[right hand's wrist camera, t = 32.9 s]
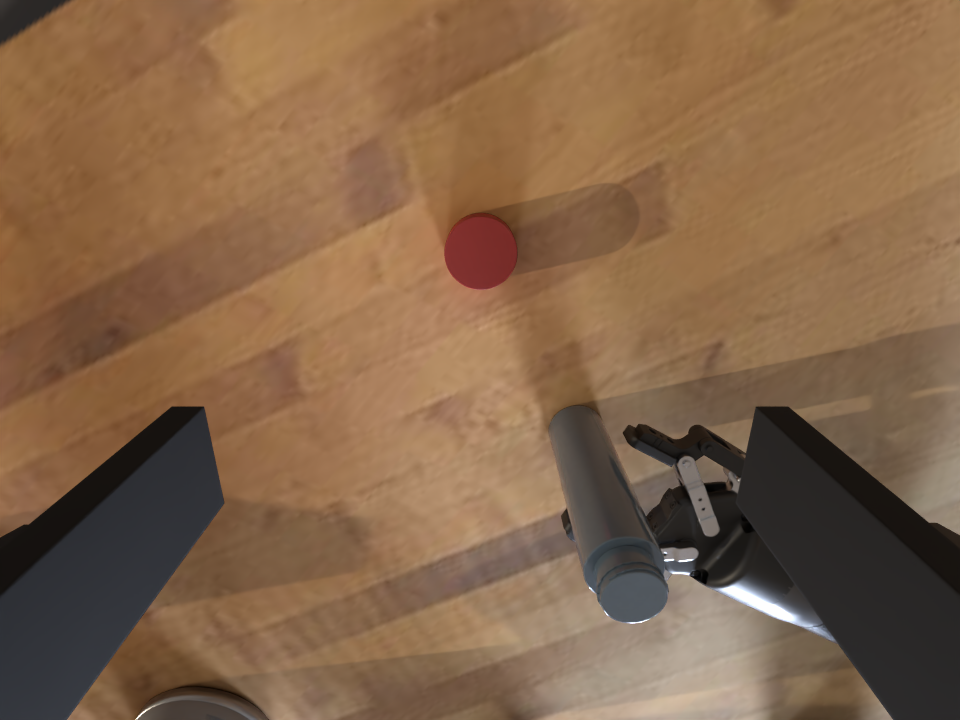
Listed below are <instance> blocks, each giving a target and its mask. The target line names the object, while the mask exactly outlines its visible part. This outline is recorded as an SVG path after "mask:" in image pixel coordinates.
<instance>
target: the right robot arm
mask: <svg viewBox="0 0 960 720" xmlns="http://www.w3.org/2000/svg"><path fill="white" fill-rule="evenodd" d="M223 504H224V499H223V494H222V490H221V485H220V480H219V475H218V471H217V466H216V461H215V456H214V451H213V447H212V442H211V437H210V432H209V428H208V423H207V418H206V413H205V409H204V407H171V408H170V409H168V410H167V411H166V412H165V413H164V414H162V415H161V416H160V417H159V418H157V419H156V420H155V421H154V422H153V423H151V424H150V425H149V426H148V427H147V428H145V429H144V430H143V431H142V432H141V433H139V434H138V435H137V436H136V437H134V438H133V439H132V440H131V441H130V442H128V443H127V444H126V445H125V446H124V447H122V448H121V449H120V450H119V451H118V452H116V453H115V454H114V455H113V456H111V457H110V458H109V459H108V460H107V461H105V462H104V463H103V464H102V465H101V466H99V467H98V468H97V469H96V470H95V471H93V472H92V473H91V474H90V475H88V476H87V477H86V478H85V479H84V480H82V481H81V482H80V483H79V484H78V485H76V486H75V487H74V488H73V489H72V490H70V491H69V492H68V493H67V494H65V495H64V496H63V497H62V498H61V499H59V500H58V501H57V502H56V503H55V504H53V505H52V506H51V507H50V508H48V509H47V510H46V511H45V512H44V513H42V514H41V515H40V516H39V517H38V518H36V519H35V520H34V521H33V522H32V523H30V524H29V525H23V526H21V527H19V528H17V529H15V530H13V531H12V532H10V533H8V534H6V535H4V536H2V537H1V538H0V720H67V719H68V717H69V716H70V715H71V713H72V712H73V710H74V709H75V708H76V706H77V705H78V704H79V702H80V701H81V699H82V698H83V697H84V695H85V694H86V693H87V691H88V690H89V688H90V687H91V686H92V684H93V683H94V682H95V680H96V679H97V677H98V676H99V675H100V673H101V672H102V671H103V669H104V668H105V666H106V665H107V664H108V662H109V661H110V660H111V658H112V657H113V655H114V654H115V653H116V651H117V650H118V649H119V647H120V646H121V644H122V643H123V642H124V640H125V639H126V638H127V636H128V635H129V633H130V632H131V631H132V629H133V628H134V627H135V625H136V624H137V623H138V621H139V620H140V618H141V617H142V616H143V614H144V613H145V612H146V610H147V609H148V607H149V606H150V605H151V603H152V602H153V601H154V599H155V598H156V596H157V595H158V594H159V592H160V591H161V590H162V588H163V587H164V585H165V584H166V583H167V581H168V580H169V579H170V577H171V576H172V574H173V573H174V572H175V570H176V569H177V568H178V566H179V565H180V563H181V562H182V561H183V559H184V558H185V557H186V555H187V554H188V552H189V551H190V550H191V548H192V547H193V546H194V544H195V543H196V541H197V540H198V539H199V537H200V536H201V535H202V533H203V532H204V530H205V529H206V528H207V526H208V525H209V524H210V522H211V521H212V520H213V518H214V517H215V515H216V514H217V513H218V511H219V510H220V509H221V507H222V506H223ZM736 504H737V506H738V507H739V509H740V510H741V511H742V513H743V514H744V515H745V517H746V518H747V520H748V521H749V522H750V524H751V525H752V526H753V528H754V529H755V530H756V532H757V533H758V535H759V536H760V537H761V539H762V540H763V541H764V543H765V544H766V546H767V547H768V548H769V550H770V551H771V552H772V554H773V555H774V557H775V558H776V559H777V561H778V562H779V563H780V565H781V566H782V568H783V569H784V570H785V572H786V573H787V574H788V576H789V577H790V579H791V580H792V581H793V583H794V584H795V585H796V587H797V588H798V590H799V591H800V592H801V594H802V595H803V596H804V598H805V599H806V601H807V602H808V603H809V605H810V606H811V607H812V609H813V610H814V612H815V613H816V614H817V616H818V617H819V618H820V620H821V621H822V623H823V624H824V625H825V627H826V628H827V629H828V631H829V632H830V633H831V635H832V636H833V638H834V639H835V640H836V642H837V643H838V644H839V646H840V647H841V649H842V650H843V651H844V653H845V654H846V655H847V657H848V658H849V660H850V661H851V662H852V664H853V665H854V666H855V668H856V669H857V671H858V672H859V673H860V675H861V676H862V677H863V679H864V680H865V682H866V683H867V684H868V686H869V687H870V688H871V690H872V691H873V693H874V694H875V695H876V697H877V698H878V699H879V701H880V702H881V704H882V705H883V706H884V708H885V709H886V710H887V712H888V713H889V715H890V716H891V717H892V719H893V720H960V535H958V534H956V533H954V532H953V531H951V530H949V529H947V528H945V527H943V526H942V525H940V524H938V523H928V522H927V521H926V520H925V519H924V518H922V517H921V516H920V515H919V514H918V513H916V512H915V511H914V510H913V509H912V508H910V507H909V506H908V505H907V504H905V503H904V502H903V501H902V500H901V499H899V498H898V497H897V496H896V495H895V494H893V493H892V492H891V491H890V490H888V489H887V488H886V487H885V486H884V485H882V484H881V483H880V482H879V481H878V480H876V479H875V478H874V477H873V476H872V475H870V474H869V473H868V472H867V471H865V470H864V469H863V468H862V467H861V466H859V465H858V464H857V463H856V462H855V461H853V460H852V459H851V458H850V457H849V456H847V455H846V454H845V453H844V452H842V451H841V450H840V449H839V448H838V447H836V446H835V445H834V444H833V443H832V442H830V441H829V440H828V439H827V438H826V437H824V436H823V435H822V434H821V433H819V432H818V431H817V430H816V429H815V428H813V427H812V426H811V425H810V424H809V423H807V422H806V421H805V420H804V419H803V418H801V417H800V416H799V415H798V414H796V413H795V412H794V411H793V410H792V409H790V408H789V407H756V409H755V413H754V418H753V423H752V428H751V432H750V437H749V442H748V447H747V451H746V456H745V461H744V466H743V470H742V475H741V480H740V485H739V490H738V494H737V499H736ZM136 720H269V719H268V718H267V717H266V716H265V715H264V714H263V713H262V712H261V711H260V710H259V709H258V708H257V707H255V706H254V705H253V704H251V703H250V702H248V701H246V700H244V699H242V698H240V697H238V696H236V695H234V694H231V693H228V692H225V691H221V690H217V689H212V688H203V687H186V688H178V689H173V690H169V691H166V692H164V693H161V694H159V695H157V696H155V697H154V698H152V699H151V700H150V701H149V702H147V703H146V704H145V706H144V707H143V708H142V710H141V711H140V713H139V715H138V716H137V718H136Z"/></svg>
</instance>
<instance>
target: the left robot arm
mask: <svg viewBox="0 0 960 720" xmlns="http://www.w3.org/2000/svg"><path fill="white" fill-rule="evenodd" d="M623 434H624V436H625V438H626V440H627V442H628V443H629V445H631V446H632V447H633V448H635V449H637V450H639V451H641V452H643V453H645V454H647V455H649V456H651V457H653V458H655V459H657V460H659V461H661V462H663V463H665V464H667V465H669V466H670V467H672V466H673V468H674V471H675V474H676V477H677V479H678V482H679V485H680V486H678V487H676V488H674V489H670V488H669V489H668V490H667V491H666V493H665V494H664V495H663V497H662V499H661V502H660V504H659V505H657V506H656V507H655V508H653V509H652V510H651V511H650V512H649V514H648V515H647V516H646V518H647V521H648V523H649V525H650V527H651V529H652V531H653V534H654V536H655V538H656V540H657V542H658V545H659V547H660V549H661V551H662V553H663V556H664V559H665V571H664V577H665V580H666V581H667V580H668V579H669V577H670V576H671V575H672V573H673V574H686V575H689V576H691V577H693V578H694V579H696V580H697V581H698V582H700V583H701V584H703V585H705V586H707V587H709V588H711V589H713V590H715V591H717V592H719V593H721V594H724V595H726V596H728V597H730V598H732V599H734V600H736V601H739V602H741V603H743V604H745V605H747V606H749V607H751V608H753V609H756V610H758V611H760V612H762V613H764V614H766V615H768V616H771V617H773V618H776V619H779V620H782V621H786V622H790V623H793V624H795V625H797V626H799V627H801V628H804V629H806V630H808V631H810V632H812V633H814V634H816V635H818V636H821V637H823V638H825V639H827V640H829V641H831V642H834V643H836V644H838V643H837V642H836V640H835V639H834V638H833V636H832V635H831V633H830V632H829V631H828V629H827V628H826V627H825V625H824V624H823V623H822V621H821V620H820V618H819V617H818V616H817V614H816V613H815V612H814V610H813V609H812V607H811V606H810V605H809V603H808V602H807V601H806V599H805V598H804V596H803V595H802V594H801V592H800V591H799V590H798V588H797V587H796V585H795V584H794V583H793V581H792V580H791V579H790V577H789V576H788V574H787V573H786V572H785V570H784V569H783V568H782V566H781V565H780V563H779V562H778V561H777V559H776V558H775V557H774V555H773V554H772V552H771V551H770V550H769V548H768V547H767V546H766V544H765V543H764V541H763V540H762V539H761V537H760V536H759V535H758V533H757V532H756V530H755V529H754V528H753V526H752V525H751V524H750V522H749V521H748V520H747V518H746V517H745V515H744V514H743V513H742V511H741V510H740V509H739V507H738V506H737V504H736V499H737V494H738V490H739V485H740V480H741V475H742V470H743V466H744V461H745V456H746V453H745V452H743V451H741V450H740V449H738V448H737V447H735V446H733V445H732V444H730V443H729V442H727V441H725V440H724V439H722V438H720V437H719V436H717V435H716V434H714V433H712V432H711V431H709V430H708V429H706V428H704V427H703V426H701V425H694V426H692V427H691V428H690V429H689V432H688V435H686V436H685V437H683V438H681V439H672V438H670V437H668V436H666V435H664V434H663V433H661V432H659V431H657V430H655V429H653V428H651V427H649V426H647V425H643V424H638V426H637V427H636V428H635V427H633V426H631V425H628V426H627V428H626V429H625V430H624V432H623ZM703 455H705V456H707V457H708V458H710V459H712V460H713V461H715V462H717V463H718V464H720V465H721V466H723V467H724V468H723V471H724V473H725V474H726V475H727V477H728V480H727V482H726V483H725V482H711V483H703V482H702V480H701V478H700V475H699V472H698V469H697V466H696V463H695V461H696V460H697V459H699V458H700V457H702V456H703ZM561 518H562V522H563V527H564V529H565V530H566V534H567V536H568V537H569V538H570V539H571V540H573V541H575V539H574V535H573V531H572V526H571V522H570V518H569V514H568V510H567V509H566V510H565V511H564V513H563V514H562V515H561Z"/></svg>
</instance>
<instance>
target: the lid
mask: <svg viewBox="0 0 960 720" xmlns="http://www.w3.org/2000/svg"><path fill="white" fill-rule="evenodd" d="M444 255H445V262H446V265H447V268H448V270H449V272H450V273H451V275H452V276H453V277H454V278H455V279H456V280H457V281H458V282H459V283H461V284H462V285H464V286H466V287H468V288H472V289H477V290H484V289H490V288H493V287H496V286H498V285H500V284H501V283H502V282H504V281H505V280H506V279H507V278H508V277H509V276H510V274H511V273H512V271H513V269H514V267H515V264H516V261H517V245H516V242H515V239H514V236H513V234H512V232H511V230H510V228H509V227H508V226H507V225H506V223H505V222H503V221H502V220H501V219H499V218H498V217H496V216H494V215H491V214H486V213H475V214H471V215H468V216H466V217H464V218H462V219H461V220H460V221H458V222H457V223H456V224H455V225H454V227H453V228H452V230H451V231H450V233H449V236H448V238H447V241H446V244H445V251H444Z"/></svg>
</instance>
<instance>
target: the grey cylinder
mask: <svg viewBox="0 0 960 720" xmlns="http://www.w3.org/2000/svg"><path fill="white" fill-rule="evenodd" d="M549 437H550V441H551V445H552V449H553V453H554V457H555V461H556V465H557V469H558V473H559V477H560V482H561V486H562V490H563V494H564V498H565V502H566V506H567V510H568V514H569V518H570V522H571V526H572V531H573V535H574V539H575V543H576V547H577V551H578V555H579V559H580V563H581V567H582V571H583V575H584V579H585V581H586V583H587V585H588V586H589V588H590V589H591V590H592V591H593V592H595V593H596V594H597V599H598V602H599V603H600V605H601V607H602V608H603V610H604V611H605V613H606V614H607V615H608V616H609V617H611V618H612V619H614V620H616V621H619V622H623V623H639V622H643V621H646V620H649V619H651V618H653V617H654V616H656V615H657V614H658V613H659V612H660V611H661V610H662V609H663V608H664V606H665V604H666V602H667V597H668V592H669V590H668V584H667V582H666V580H665V577H664V571H665V559H664V556H663V553H662V551H661V549H660V547H659V545H658V542H657V540H656V538H655V536H654V534H653V531H652V529H651V527H650V525H649V523H648V521H647V518H646V516H645V514H644V512H643V510H642V507H641V505H640V503H639V501H638V499H637V496H636V494H635V492H634V490H633V488H632V485H631V483H630V481H629V479H628V477H627V474H626V472H625V470H624V468H623V466H622V463H621V461H620V459H619V457H618V455H617V452H616V450H615V448H614V446H613V444H612V441H611V439H610V437H609V435H608V433H607V430H606V428H605V426H604V424H603V422H602V419H601V418H600V416H599V415H598V414H597V413H596V412H595V411H594V410H592V409H591V408H588V407H585V406H570V407H567V408H564V409H563V410H561V411H559V412H558V413H557V414H556V415H555V416H554V417H553V419H552V421H551V423H550V426H549Z"/></svg>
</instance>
